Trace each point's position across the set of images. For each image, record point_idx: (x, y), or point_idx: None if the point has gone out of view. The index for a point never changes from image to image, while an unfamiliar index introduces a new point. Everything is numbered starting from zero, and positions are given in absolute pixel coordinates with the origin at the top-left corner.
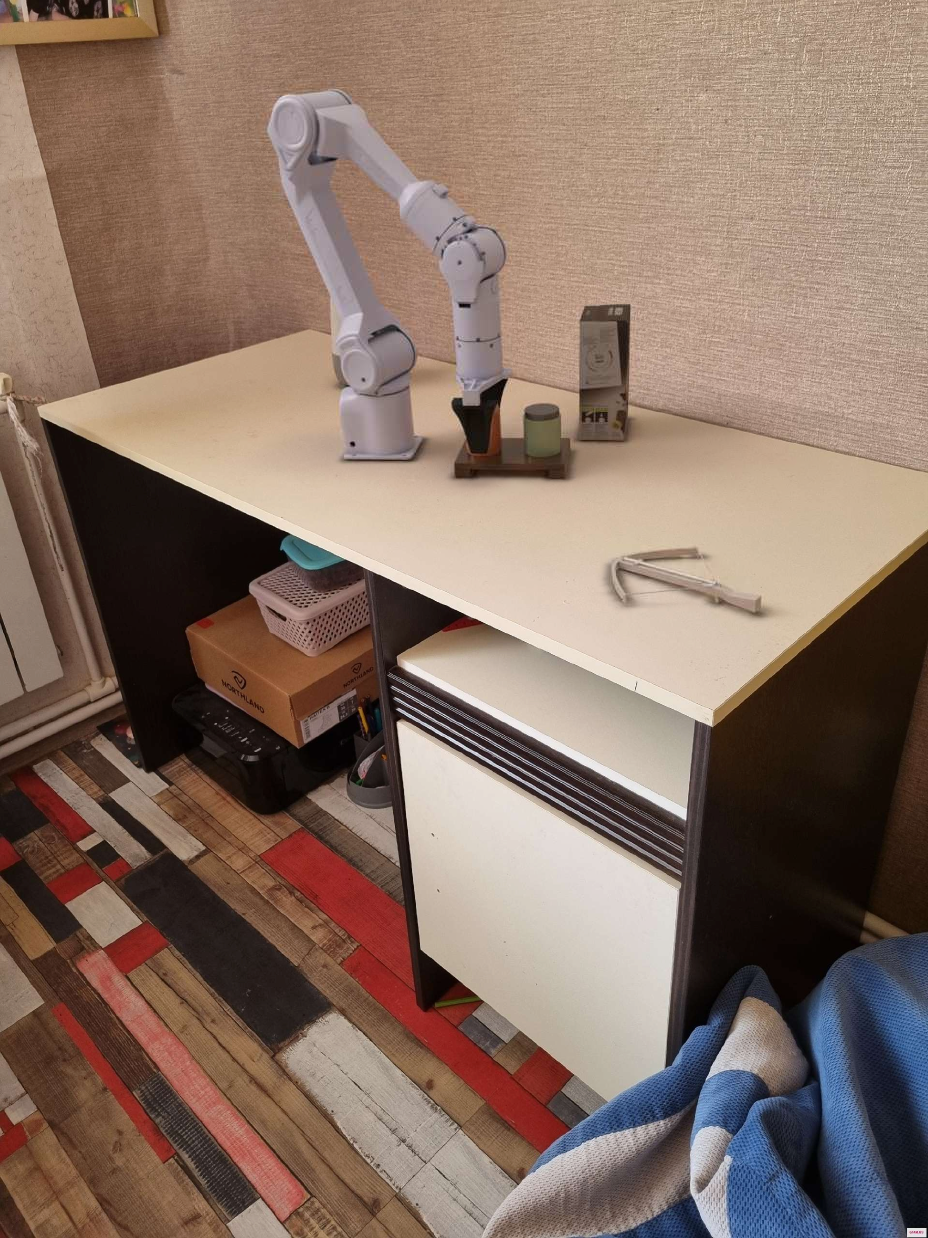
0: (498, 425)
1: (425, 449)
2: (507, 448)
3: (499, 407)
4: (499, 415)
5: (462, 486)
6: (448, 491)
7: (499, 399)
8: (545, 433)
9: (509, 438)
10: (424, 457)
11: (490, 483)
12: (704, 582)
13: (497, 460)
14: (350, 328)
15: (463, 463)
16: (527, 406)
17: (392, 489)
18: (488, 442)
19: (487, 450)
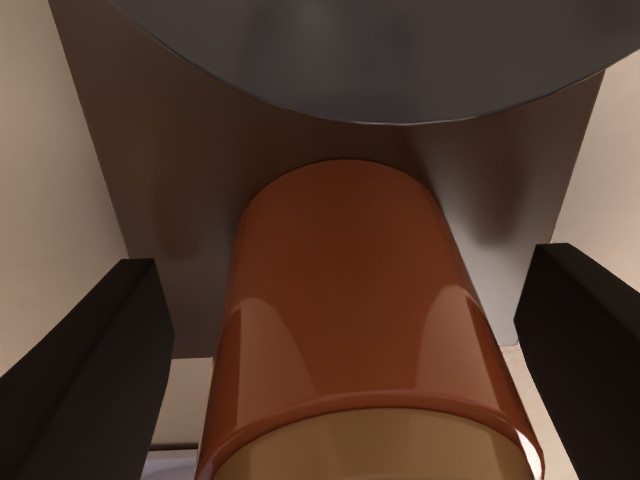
0: (421, 296)
1: (185, 426)
2: (308, 125)
3: (55, 383)
4: (407, 362)
5: (598, 248)
6: (636, 286)
7: (32, 467)
8: None
9: (111, 144)
10: None
11: (600, 132)
12: None
13: (527, 154)
14: None
15: None
16: (256, 88)
17: (555, 431)
18: (627, 284)
19: (578, 250)
